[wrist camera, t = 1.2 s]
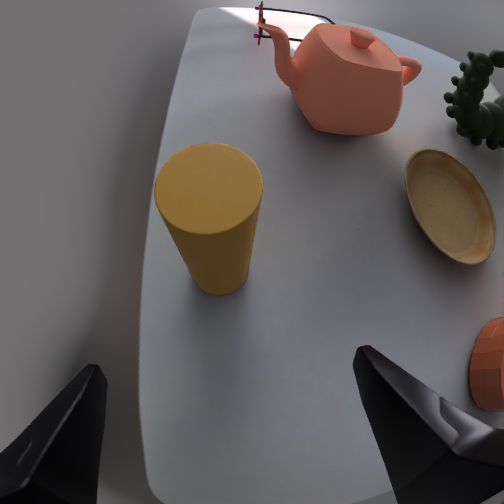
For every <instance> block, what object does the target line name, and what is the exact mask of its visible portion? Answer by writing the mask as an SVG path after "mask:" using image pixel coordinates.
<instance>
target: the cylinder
mask: <svg viewBox="0 0 504 504" xmlns="http://www.w3.org/2000/svg"><path fill="white" fill-rule="evenodd" d="M262 192H263V182H262V177H261V173H260V171H259V169H258V167H257V165H256V164H255V162H254V161H253V160H252V159H251V158H250V157H249V156H248V155H247V154H245V153H244V152H243V151H241V150H239V149H237V148H235V147H232V146H230V145H226V144H220V143H203V144H197V145H194V146H190V147H188V148H185V149H183V150H181V151H180V152H178V153H177V154H175V155H174V156H172V157H171V158H170V159H169V160H168V161H167V162H166V163H165V164H164V166H163V167H162V169H161V170H160V172H159V174H158V176H157V179H156V183H155V188H154V197H155V202H156V205H157V208H158V210H159V212H160V214H161V216H162V218H163V220H164V222H165V224H166V226H167V228H168V230H169V232H170V234H171V236H172V238H173V240H174V242H175V244H176V246H177V248H178V250H179V252H180V254H181V256H182V258H183V259H184V261H185V263H186V265H187V267H188V269H189V271H190V273H191V275H192V276H193V278H194V280H195V282H196V283H197V285H198V286H199V287H200V288H201V289H202V290H204V291H205V292H207V293H210V294H213V295H227V294H230V293H232V292H234V291H236V290H237V289H239V288H240V287H241V286H242V284H243V283H244V282H245V280H246V278H247V275H248V269H249V264H250V258H251V253H252V247H253V242H254V236H255V231H256V225H257V220H258V214H259V208H260V203H261V197H262Z"/></svg>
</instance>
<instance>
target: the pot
mask: <svg viewBox="0 0 504 504" xmlns="http://www.w3.org/2000/svg"><path fill="white" fill-rule="evenodd" d="M470 388H471V392H472V396H473V399H474V401H475V402H476V404H477V405H478V407H480V408H482V409H483V410H486V411H497V412H504V317H500V318H496V319H494V320H491V321H489V323H488V324H487V325H486V326H485V327H484V328H483V329H482V330H481V332H480V334H479V336H478V338H477V340H476V343H475V346H474V349H473V352H472V357H471V364H470Z"/></svg>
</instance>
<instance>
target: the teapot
mask: <svg viewBox="0 0 504 504" xmlns="http://www.w3.org/2000/svg"><path fill="white" fill-rule="evenodd" d="M257 26H258V27H260V28H262V29H263V30H264V31H266V32H267V33H269V35H270V36H271V37H272V39H273V42H274V47H275V67H276V71H277V74H278V76H279V77H280V79H281V80H282V81H283V82H284V83H285V84H286V85H287V86H289V87H290V90H291V92H292V95H293V97H294V99H295V101H296V103H297V105H298V106H299V108H300V110H301V111H302V113H303V114H304V116H305V117H306V118H307V120H308V121H309V122H310V124H311V126H312V127H313V128H314V129H316V130H318V131H325V132H328V133H334V134H343V135H360V136H361V135H375V134H379V133H382V132H385V131H387V130H389V129H390V128H391V127H392V126H393V124H394V123H395V121H396V119H397V117H398V114H399V111H400V108H401V104H402V97H403V86H405V85H406V84H408V83H409V82H411V81H412V80H413V79H414V78H416V77H417V76H418V74H419V73H420V72H421V69H422V67H421V64H420V63H419V62H418V61H417V60H416V59H414V58H411V57H407V56H399V55H395V54H394V53H393V51H392V50H391V49H390V48H389V47H388V46H387V45H386V44H385V43H384V42H383V41H381V40H380V39H379V38H378V37H376V36H375V35H374V34H373V33H372V32H370V31H369V30H367V29H364V28H361V27H355V26H352V27H348V26H342V25H336V24H326V23H321V24H318V25H316V26H315V27H314V28H313V29H312V30H311V31H310V32H309V33H308V34H307V36H306V37H305V38H304V39H303V41H302V42H301V43H300V45H299V46H298V48H297V49H296V51H295V53H294V56H293V58H291V56H290V43H289V38H288V36H287V34H286V33H285V32H284V31H283V30H282V29H280V28H279V27H276V26H273V25H269V24H263V23H258V24H257ZM402 66H406V67H405V69H404V70H403V68H402Z"/></svg>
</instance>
